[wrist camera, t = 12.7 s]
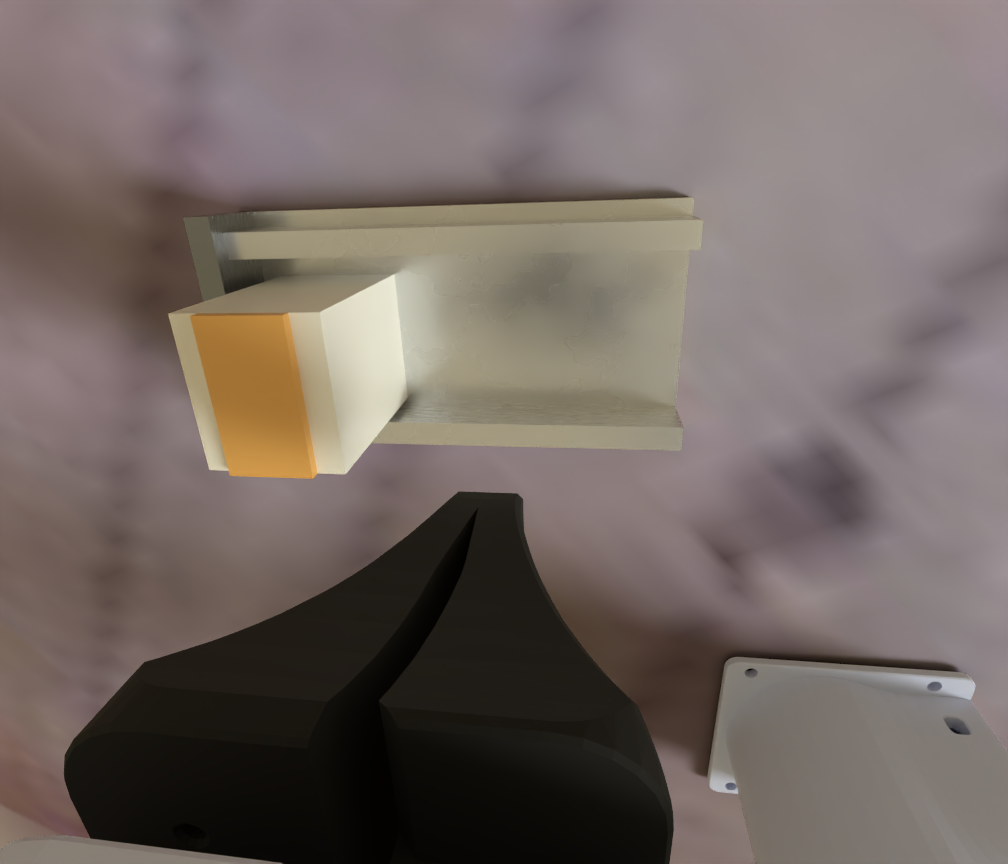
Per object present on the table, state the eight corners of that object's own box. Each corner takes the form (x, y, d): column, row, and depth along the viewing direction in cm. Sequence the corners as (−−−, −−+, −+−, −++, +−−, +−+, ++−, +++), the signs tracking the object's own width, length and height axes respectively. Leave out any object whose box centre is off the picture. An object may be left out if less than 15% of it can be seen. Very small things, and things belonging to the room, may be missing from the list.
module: (394, 274, 19) (314, 315, 14) (407, 397, 21) (341, 479, 16) (282, 275, 20) (159, 315, 14) (304, 396, 22) (203, 475, 16)
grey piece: (691, 196, 18) (709, 201, 15) (670, 434, 21) (682, 473, 18) (237, 211, 20) (183, 217, 17) (282, 426, 23) (241, 460, 20)
